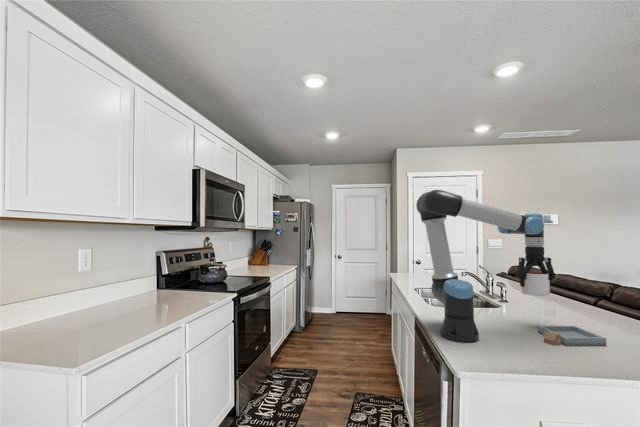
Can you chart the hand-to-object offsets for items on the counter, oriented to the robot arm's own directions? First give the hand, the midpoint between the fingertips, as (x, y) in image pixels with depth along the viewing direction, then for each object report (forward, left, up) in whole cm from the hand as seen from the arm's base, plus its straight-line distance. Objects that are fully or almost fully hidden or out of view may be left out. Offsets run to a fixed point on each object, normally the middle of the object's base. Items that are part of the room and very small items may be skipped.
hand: (535, 293), depth 150 cm
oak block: (-7, -20, -16) cm, 27 cm away
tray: (+4, -15, -16) cm, 22 cm away
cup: (0, 0, -1) cm, 1 cm away
